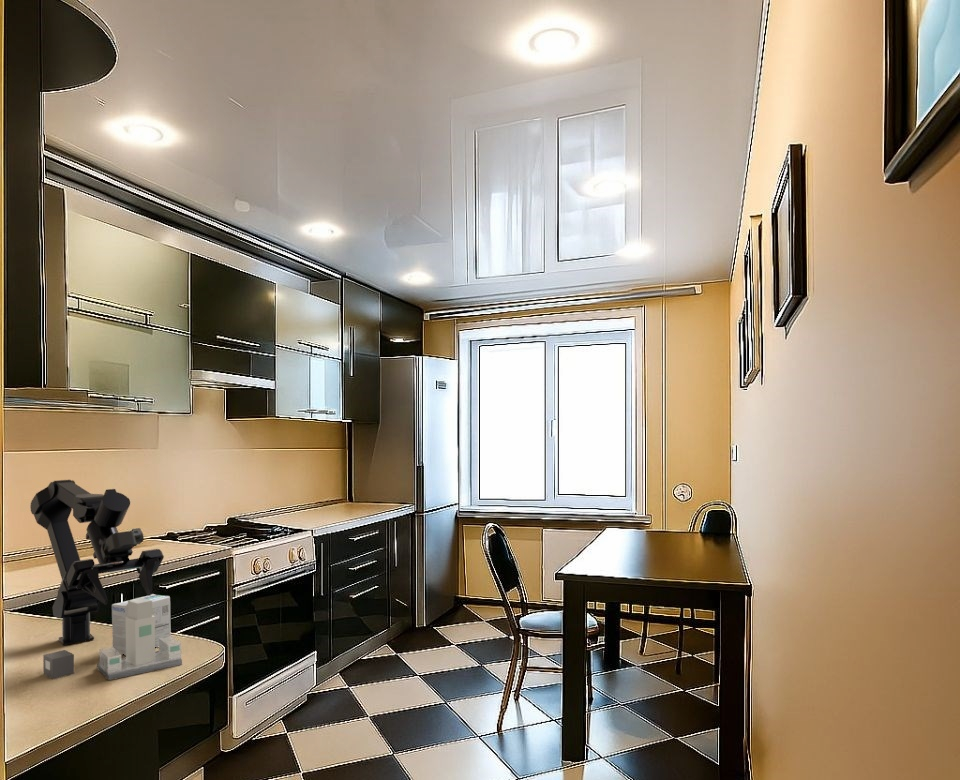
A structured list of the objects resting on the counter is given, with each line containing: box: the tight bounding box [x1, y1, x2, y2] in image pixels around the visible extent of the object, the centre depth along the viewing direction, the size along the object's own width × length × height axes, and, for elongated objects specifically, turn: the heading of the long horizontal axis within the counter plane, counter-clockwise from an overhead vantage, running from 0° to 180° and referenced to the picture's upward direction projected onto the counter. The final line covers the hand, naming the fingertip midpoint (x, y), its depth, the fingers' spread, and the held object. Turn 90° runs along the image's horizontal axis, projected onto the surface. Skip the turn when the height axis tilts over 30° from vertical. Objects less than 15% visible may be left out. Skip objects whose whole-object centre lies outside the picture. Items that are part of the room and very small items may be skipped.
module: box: [125, 597, 156, 665], centre depth 154 cm, size 5×4×12 cm
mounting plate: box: [96, 635, 183, 681], centre depth 155 cm, size 10×14×4 cm
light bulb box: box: [111, 593, 172, 656], centre depth 168 cm, size 11×7×11 cm, turn 149°
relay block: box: [42, 649, 75, 680], centre depth 151 cm, size 5×4×4 cm
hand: (128, 598), depth 158 cm, fingers open, 9 cm apart
